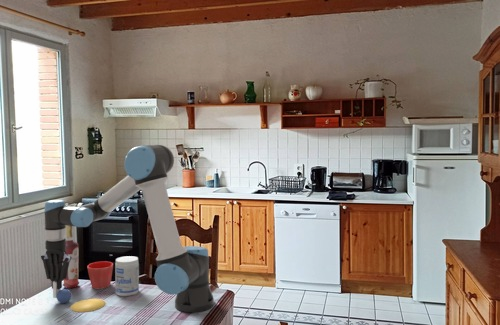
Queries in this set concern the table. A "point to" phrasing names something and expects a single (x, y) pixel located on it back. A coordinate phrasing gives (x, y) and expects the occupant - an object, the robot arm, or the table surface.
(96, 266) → the flower pot
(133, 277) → the supplement tub
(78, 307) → the disc
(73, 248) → the liquor
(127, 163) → the robot arm
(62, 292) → the ball
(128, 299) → the table surface
